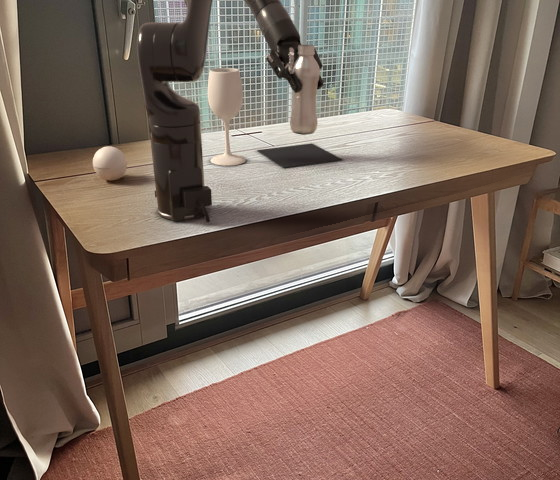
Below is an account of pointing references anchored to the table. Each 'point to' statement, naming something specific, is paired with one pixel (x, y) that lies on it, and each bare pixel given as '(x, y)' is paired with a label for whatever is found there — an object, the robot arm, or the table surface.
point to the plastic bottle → (305, 92)
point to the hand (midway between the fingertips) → (309, 88)
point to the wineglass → (225, 106)
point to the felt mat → (299, 155)
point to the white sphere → (109, 163)
